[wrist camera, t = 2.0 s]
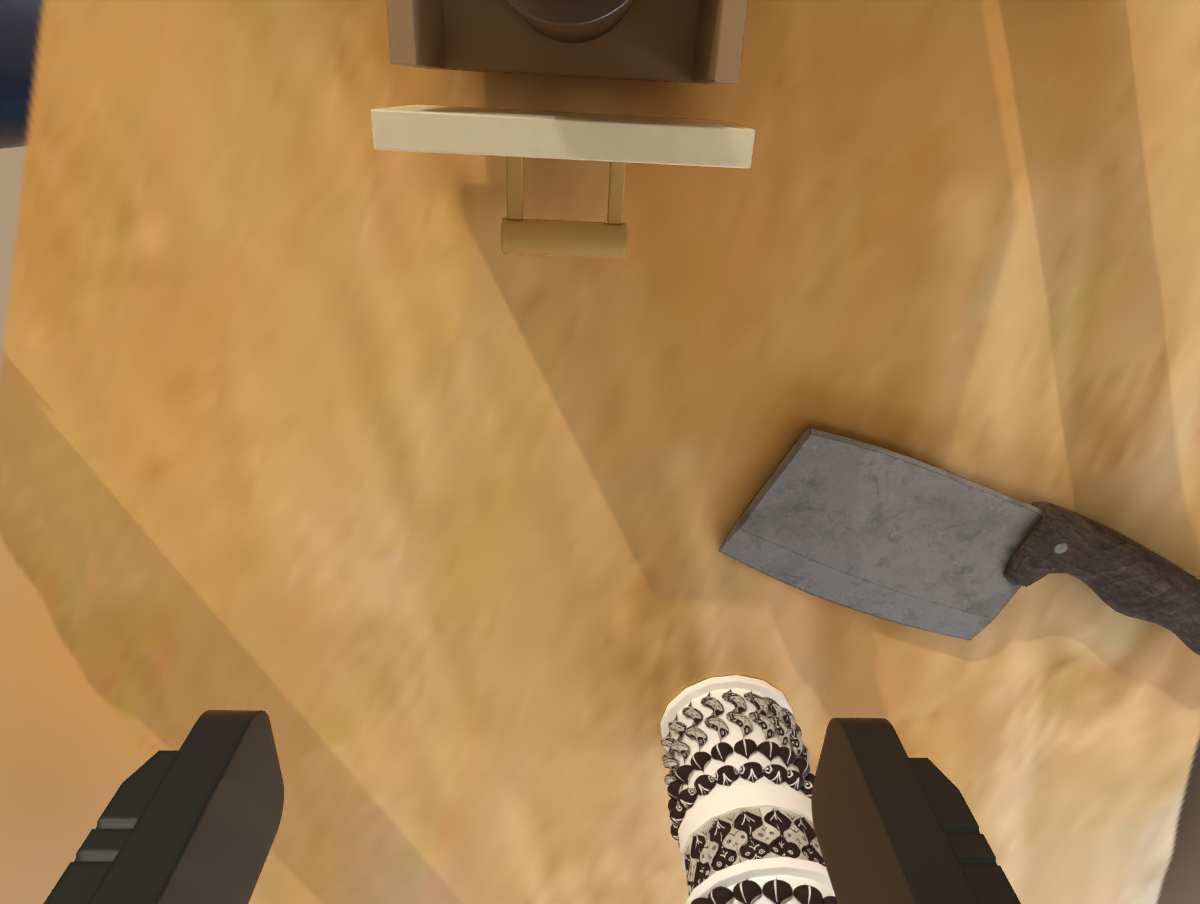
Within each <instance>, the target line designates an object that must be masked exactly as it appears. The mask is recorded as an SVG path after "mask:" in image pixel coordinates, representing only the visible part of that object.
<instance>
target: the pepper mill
mask: <svg viewBox="0 0 1200 904" xmlns="http://www.w3.org/2000/svg"><path fill="white" fill-rule="evenodd" d="M507 1H508V2H509V3H510V4H511V5H512V6H513V7H514V8H515V10H516V11H517V12H518V13H519V14H520V15H521V16H522V17H523V18H524V19H525V21H526V22H527V23H528V24H529V25H530V26H531V27H533V28H534V29H535V30H536V31H538V32H539V33H541V34H542V35H544V36H546V37H548V38H550V39H553V40H556V41H559V42H565V43H582V42H588V41H591V40H594V39H597V38H599V37H601V36H603V35H605V34H606V33H607V32H609V31H610V30H612V29H613V28H614V27H615V26H616V25H617V24H618V23H619V22H620V21H621V20H622V19H623V17H624V16H625V15H626V13H627V12H628V10H629V9H630V7H631V5H632V3H633V2H634V0H507Z"/></svg>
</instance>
